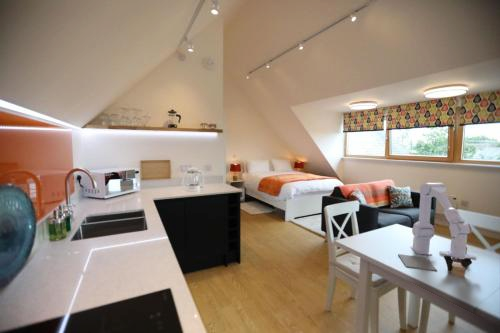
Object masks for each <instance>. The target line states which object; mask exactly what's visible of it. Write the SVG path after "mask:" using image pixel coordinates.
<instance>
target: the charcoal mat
mask: <svg viewBox="0 0 500 333" xmlns="http://www.w3.org/2000/svg"><path fill="white" fill-rule="evenodd" d="M397 256H398V257H399V258H400V260H401V262H402V264H403V265H404V266H405V267H406V268H409V269H419V270H425V271H431V272H437V271H438V269H436V267H435V266H434V265H433V264H432V263H431V261H430V260H429V259H428V258H427V257H424V256H418V255H410V254H400V253H398V254H397Z"/></svg>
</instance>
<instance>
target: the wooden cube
mask: <svg viewBox="0 0 500 333" xmlns="http://www.w3.org/2000/svg"><path fill="white" fill-rule="evenodd" d="M447 272H448V273H449V274H450V276H452V277H458V278H459V277H460V278H466V275H465V274H466V271H465V267H464V266H463V265H462V264H461V262H458V261H453V263H452V270H451V271H449V270H448V268H447Z"/></svg>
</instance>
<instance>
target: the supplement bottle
mask: <svg viewBox="0 0 500 333" xmlns="http://www.w3.org/2000/svg"><path fill="white" fill-rule="evenodd" d="M465 254H468V246H467V245H466V253H465ZM451 258H452V260H453V261H454V262H457V263H461V259H459V258H455V257H451Z"/></svg>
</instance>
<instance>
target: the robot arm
mask: <svg viewBox="0 0 500 333" xmlns="http://www.w3.org/2000/svg"><path fill="white" fill-rule="evenodd" d="M419 190H420V191H419V195H420V198H419V211H418V221H416V222H415V223H414V224H413V226H412V229H411V231H412V232H411V233H412V235H413V238H412V245H411V246H410V247H411V249H412V250H413V251H414V252H415V254H419V255H427V256H432V255H433V254H432V252H430V243H431V242H430V241H431V239H432V238H433V237H434V236H435V229H434V225H432V224H431V209H432V198H433V197H434V198H436V199H437V200H438V202H439V203H440V205H441V206H442V208H443V209H444V210H443V214H444V216H445V218H446V220H447V221H448V223H449V226H448V228H449V231H450V236H451V241H450V250H449V251H448V250H447V251H439V256H440V257H443V259H444V260H445V263H446V267H447V269H448V270H449V271H451V270H452V263H453V262H454V260H453V259H452V257H455V258H459V259H461V262H460V263H461V264H462V265H463V266H464V267H465V272H466V271H467V269H468V267H470V266H471V265H472V264H473V261H477V256H476V255H474V254H468V253H467V254H465V253H466V246H467V241H468V235H469V234H471V232H472V226H471V225H470V223H469V222H466V220H465V219H463V218H462V215H461V214H460V212H459V211H458V210H457V208H454V207H453V206H452V204H451V202H450V200H449V198H448V195H447V194H446V193H447V188H446V186H445V184H444V183H443V182H424V183H422V184H420V189H419Z"/></svg>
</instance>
